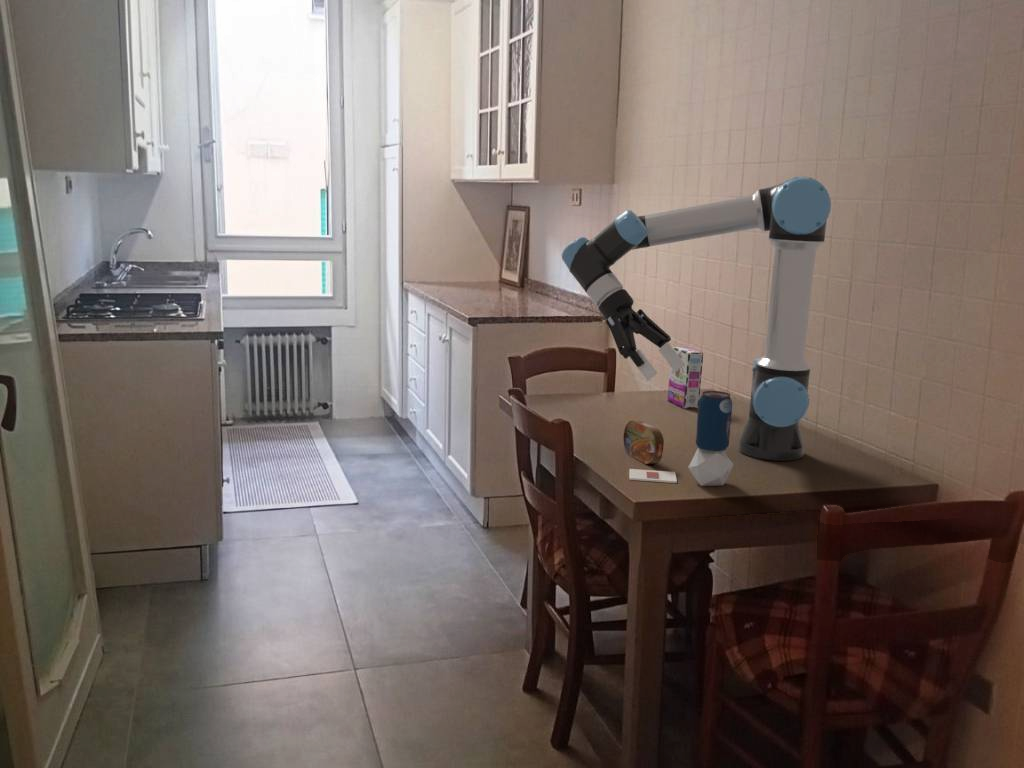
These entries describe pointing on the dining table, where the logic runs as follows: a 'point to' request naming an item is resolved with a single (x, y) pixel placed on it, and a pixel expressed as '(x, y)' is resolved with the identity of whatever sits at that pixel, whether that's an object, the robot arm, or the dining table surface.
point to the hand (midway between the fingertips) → (666, 372)
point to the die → (710, 467)
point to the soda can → (713, 421)
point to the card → (652, 475)
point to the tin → (643, 442)
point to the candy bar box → (686, 379)
